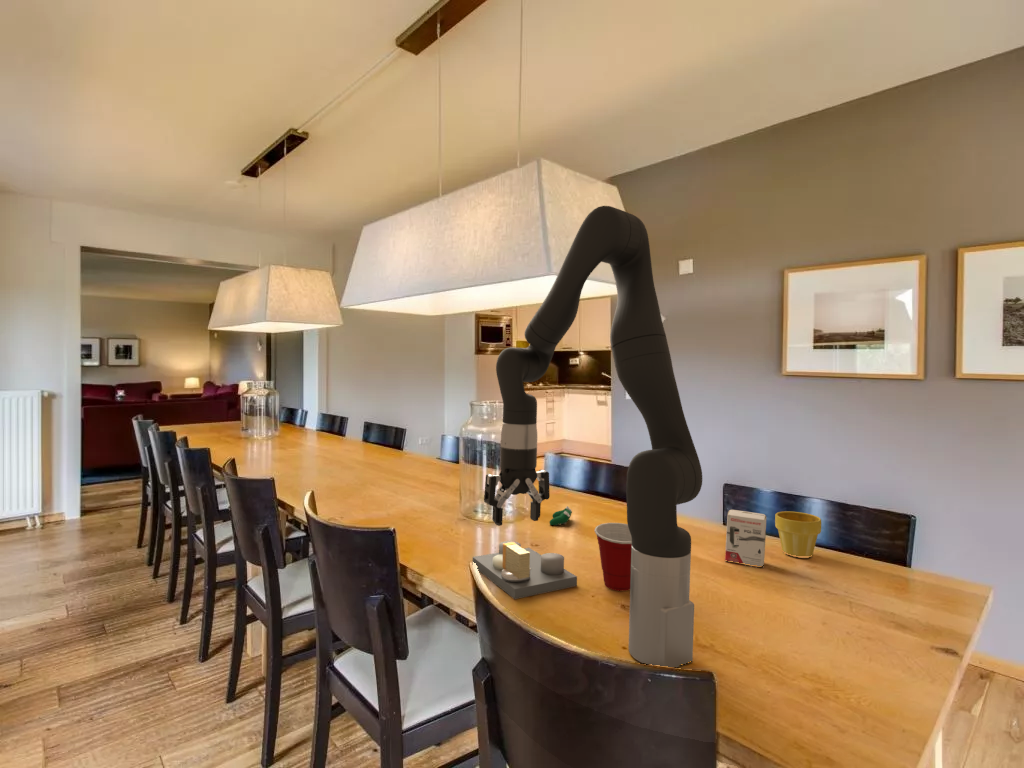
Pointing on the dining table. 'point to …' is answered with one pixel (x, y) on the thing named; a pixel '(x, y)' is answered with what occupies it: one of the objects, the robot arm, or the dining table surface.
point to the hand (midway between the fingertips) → (516, 522)
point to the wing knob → (515, 563)
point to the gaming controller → (561, 516)
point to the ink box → (745, 537)
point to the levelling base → (543, 573)
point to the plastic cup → (615, 554)
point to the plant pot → (798, 532)
